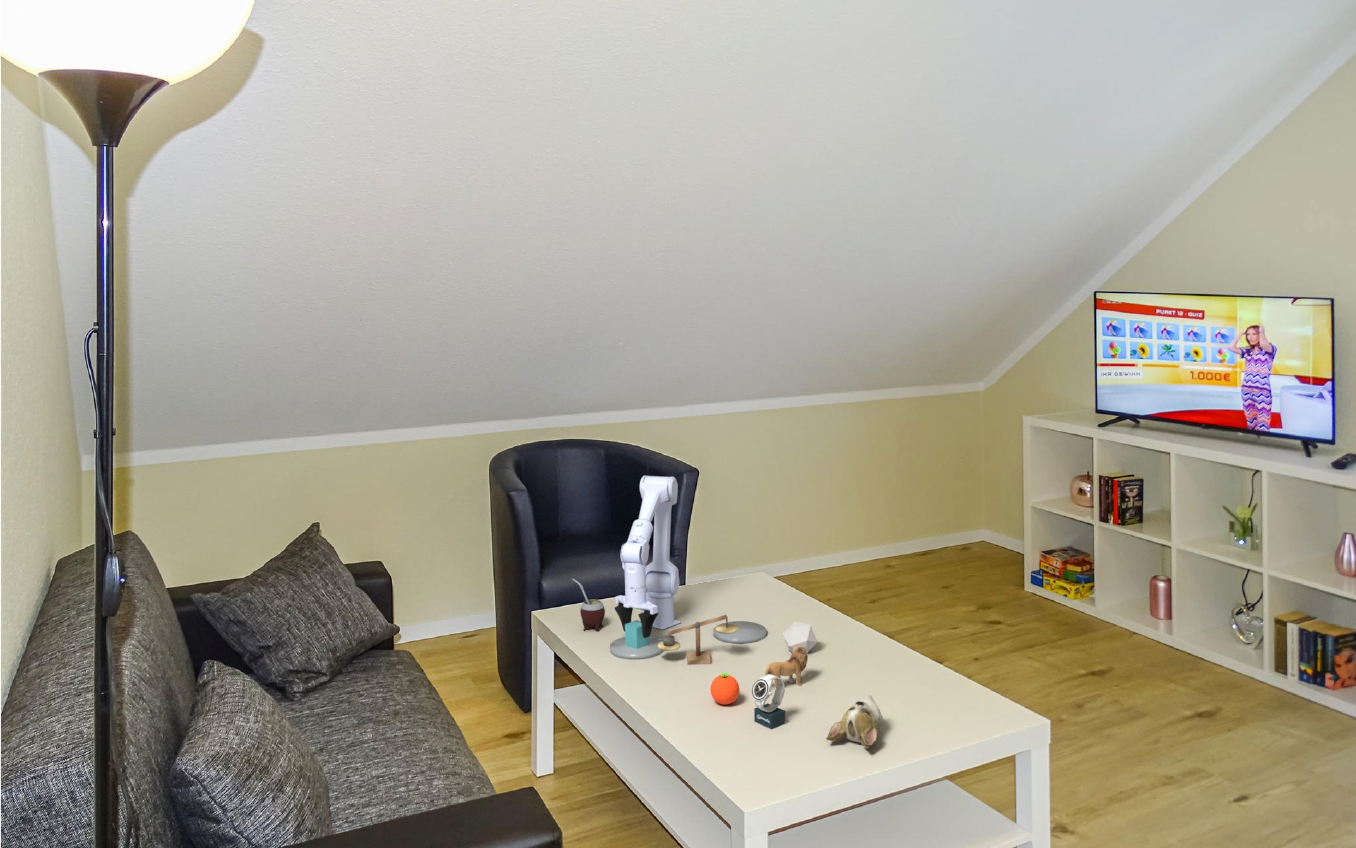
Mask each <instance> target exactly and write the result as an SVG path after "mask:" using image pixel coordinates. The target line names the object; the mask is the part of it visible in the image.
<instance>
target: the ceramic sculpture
mask: <svg viewBox="0 0 1356 848" xmlns="http://www.w3.org/2000/svg"><path fill="white" fill-rule="evenodd" d="M883 719H884V718H883V715H882V712H881V710H880V708H879V706H878V705H877V703H876V701H875V700H874V698H873V697H872V695H868V696H866V697H865V698H863V699H860V700H857V701H855V702H854V703H853V704H852V705H851V706H850V708H849V709H847V710H846V712H845V713H843V716H842V718H841V720H840V721H837V722H834V723H833V725H832V726H831V727H830V729H829V732H828V735H827V737H826V740H827V741H830V742H832V741H833V742H836V741H837V742H838V741H841V740H842V739H843V738H844V736H845V738H846V739H847V740H849V741H851V742H855V743H860V744H861V745H862V746H863V747H864V748H866V749H871V748H873V747H874V746H875V745H876V743H877V741H878V737H879V728H880V727H881V726H882V724H883Z"/></svg>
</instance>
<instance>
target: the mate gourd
mask: <svg viewBox="0 0 1356 848" xmlns="http://www.w3.org/2000/svg"><path fill="white" fill-rule="evenodd" d="M571 579H572V581H574V582H575V583H577V584H578V586H579V588H580V589H581V592H582V594H583V596H584V599H585V600H584V601H583V602H582V604H581V606H580V617H581V620H582V625H583V629H582V630H583V632H586V631H585V630H588V631H592V630H593V631H595V632H596V633H597V632H600V628H603V627H604V625H603V620H604V619H605V614H606V609H605V606H604V603H603V602H602V601H601V600H599V599H592V598H591V599H588V597H587V595H586V593H585V590H584V586H583V585H582V584H581V583H580V582H579V581H578V580H576V579H575V578H571Z"/></svg>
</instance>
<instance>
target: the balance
mask: <svg viewBox="0 0 1356 848" xmlns="http://www.w3.org/2000/svg"><path fill="white" fill-rule="evenodd" d="M724 620H725V623H726V624H722V623H719V624H720V625H719V624H717V625H716V626H715V627H716V631H717V632H719V633H723V634H731V633H735V632H737V631H738V626H736V625H734V624H728V622H729V621H728V616H727V614H724V615H720V616H717V617H713V618H710V619H707V620H703V621H696V622H695V623H692V624H689V625H685V626H682V627H679V628H676V629H672V630H668V632H667V634H666V635H664V636H663V637H662V639H663V640H662V642H660V643H658V648H659V649H660V650H664V651H663V652H665V651H666V652H668V651H669V652H671V651H676V650H679V649H680V648H681V643H680V642H679V641H677V640H676V638H675V634H679V633H683V632H686V631H690V630H692V629H695V650H694V651H686V661H687V665H709V664H711V656H710V650H701V627H704V626H708V625H710V624H714V623H716V622H721V621H724Z"/></svg>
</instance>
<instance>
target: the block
mask: <svg viewBox="0 0 1356 848" xmlns="http://www.w3.org/2000/svg"><path fill="white" fill-rule="evenodd" d="M624 633H625V634H624V637H625V644H626V646H629V647H632V648H635V649H639V648H642V647H644V646H647V645H649V637H647V638H643V634H642V624H641V620H639V619H638V620H633V621H631V622H630V623H627V624H625V632H624Z"/></svg>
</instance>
